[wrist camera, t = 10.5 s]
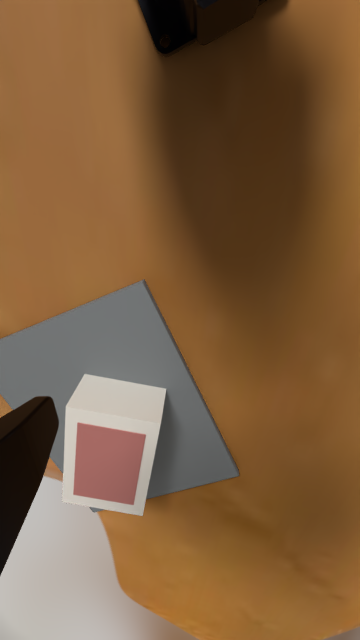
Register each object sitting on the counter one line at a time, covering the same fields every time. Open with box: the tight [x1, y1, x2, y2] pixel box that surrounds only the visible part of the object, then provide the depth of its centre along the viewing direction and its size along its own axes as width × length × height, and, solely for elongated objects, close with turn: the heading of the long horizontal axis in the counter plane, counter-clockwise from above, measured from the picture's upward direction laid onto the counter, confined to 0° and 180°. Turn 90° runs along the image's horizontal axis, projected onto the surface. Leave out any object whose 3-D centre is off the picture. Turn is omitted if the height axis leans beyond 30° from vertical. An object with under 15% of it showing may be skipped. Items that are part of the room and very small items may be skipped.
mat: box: [0, 280, 239, 512], centre depth 25 cm, size 18×14×1 cm
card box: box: [62, 374, 166, 516], centre depth 24 cm, size 6×9×4 cm, turn 170°
